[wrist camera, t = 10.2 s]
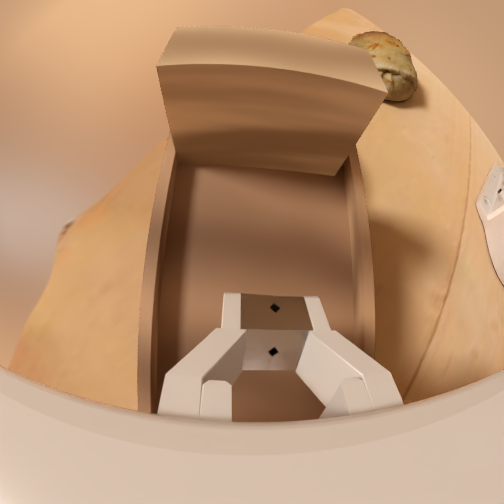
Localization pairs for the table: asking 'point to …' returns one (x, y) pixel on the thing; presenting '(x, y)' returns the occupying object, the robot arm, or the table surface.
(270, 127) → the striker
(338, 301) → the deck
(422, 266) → the table surface
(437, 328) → the table surface
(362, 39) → the pastry
